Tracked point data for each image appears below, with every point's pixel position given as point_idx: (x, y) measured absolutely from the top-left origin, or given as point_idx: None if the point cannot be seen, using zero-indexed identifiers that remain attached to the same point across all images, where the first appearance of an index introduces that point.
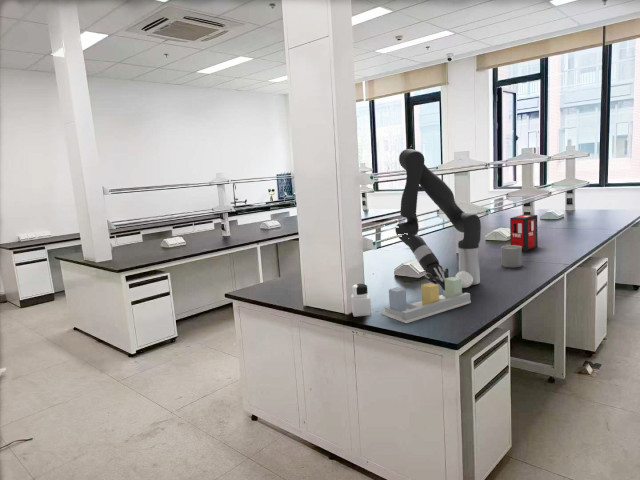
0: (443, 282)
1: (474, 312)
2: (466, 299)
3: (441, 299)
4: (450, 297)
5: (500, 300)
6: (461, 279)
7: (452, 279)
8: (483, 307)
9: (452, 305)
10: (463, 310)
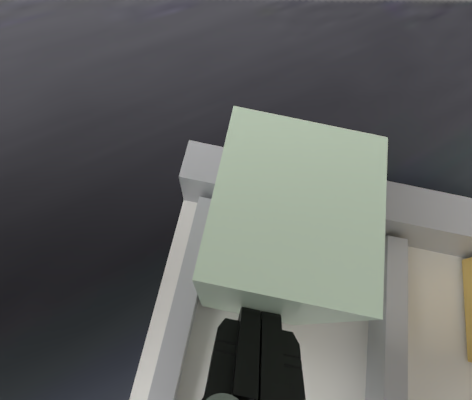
0: (284, 395)
1: (337, 84)
2: None
3: (399, 295)
4: None
5: (57, 60)
6: (234, 113)
7: (340, 185)
8: (233, 82)
9: None
10: None
